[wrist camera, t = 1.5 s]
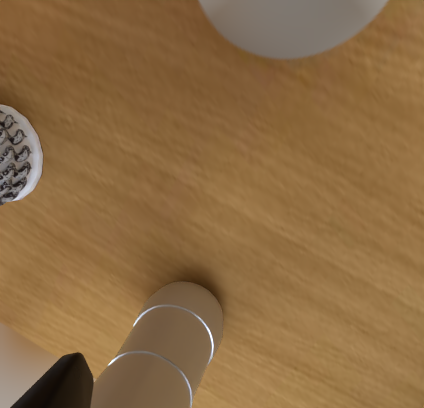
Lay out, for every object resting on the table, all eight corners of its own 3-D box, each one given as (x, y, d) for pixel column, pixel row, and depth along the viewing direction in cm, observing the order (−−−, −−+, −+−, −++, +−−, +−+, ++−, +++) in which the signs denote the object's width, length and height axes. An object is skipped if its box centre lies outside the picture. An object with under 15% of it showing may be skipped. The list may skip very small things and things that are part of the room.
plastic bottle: (243, 321, 26) (149, 869, 6) (180, 355, 27) (-41, 858, 8) (198, 257, 25) (-45, 636, 6) (137, 296, 27) (-198, 680, 8)
